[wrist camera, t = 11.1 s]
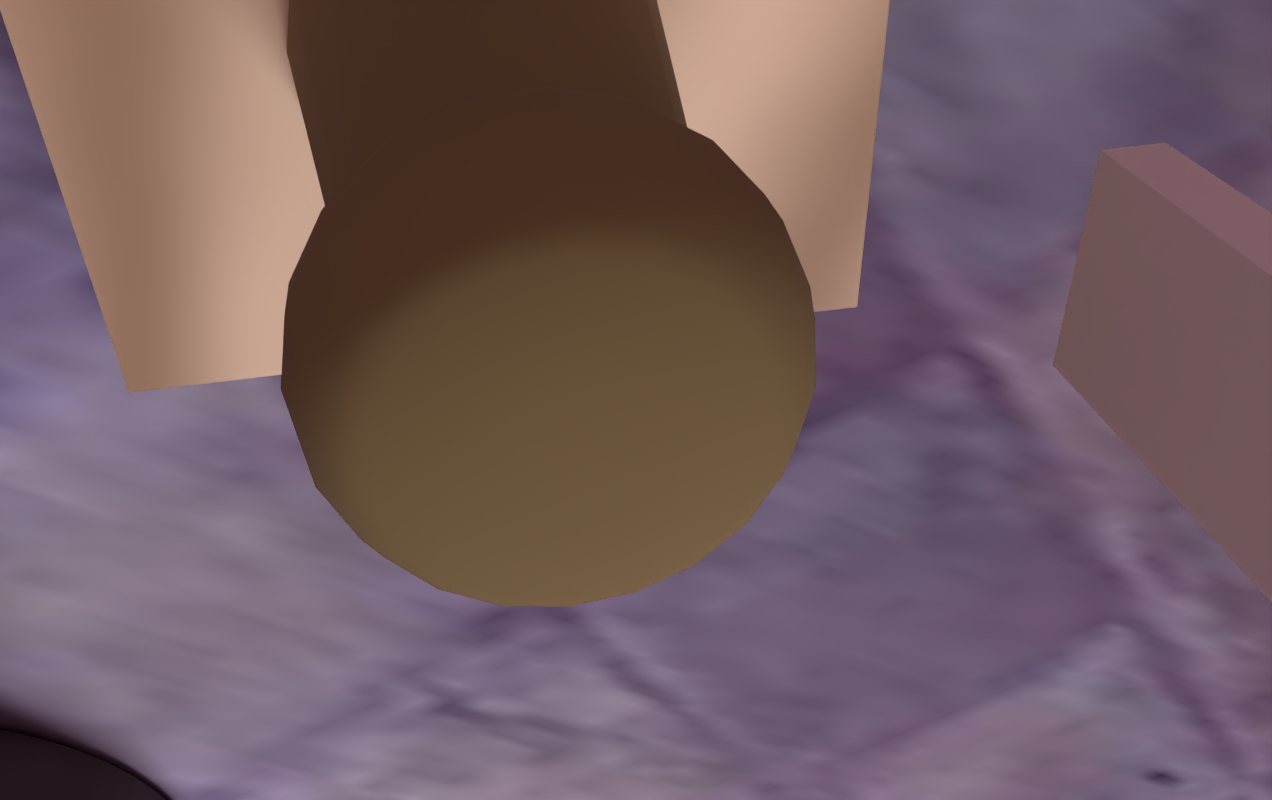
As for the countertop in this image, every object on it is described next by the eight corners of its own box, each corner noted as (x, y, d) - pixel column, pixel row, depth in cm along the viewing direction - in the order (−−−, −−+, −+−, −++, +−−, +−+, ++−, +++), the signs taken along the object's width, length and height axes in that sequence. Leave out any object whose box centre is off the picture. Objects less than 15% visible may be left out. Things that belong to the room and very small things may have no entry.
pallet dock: (160, 285, 25) (129, 392, 21) (-46, -405, 18) (-138, -399, 14) (797, 217, 27) (856, 306, 23) (841, -428, 20) (935, -428, 16)
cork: (590, 253, 21) (747, 726, 13) (251, 168, 19) (160, 666, 11) (715, -74, 19) (1035, 247, 10) (332, -216, 16) (300, 30, 8)
